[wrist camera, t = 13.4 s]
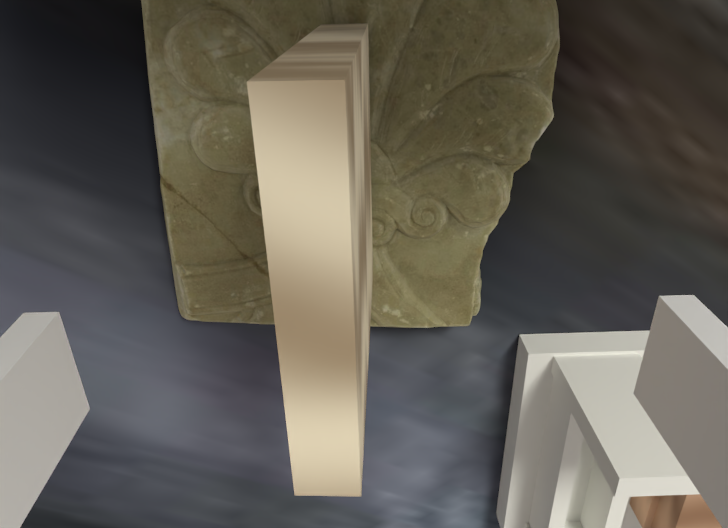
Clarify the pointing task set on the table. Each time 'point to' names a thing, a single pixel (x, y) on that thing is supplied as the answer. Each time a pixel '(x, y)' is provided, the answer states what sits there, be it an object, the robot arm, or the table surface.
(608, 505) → the board rack
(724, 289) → the table surface
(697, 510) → the offcut upper
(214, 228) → the decorative tile
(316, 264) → the birch board
